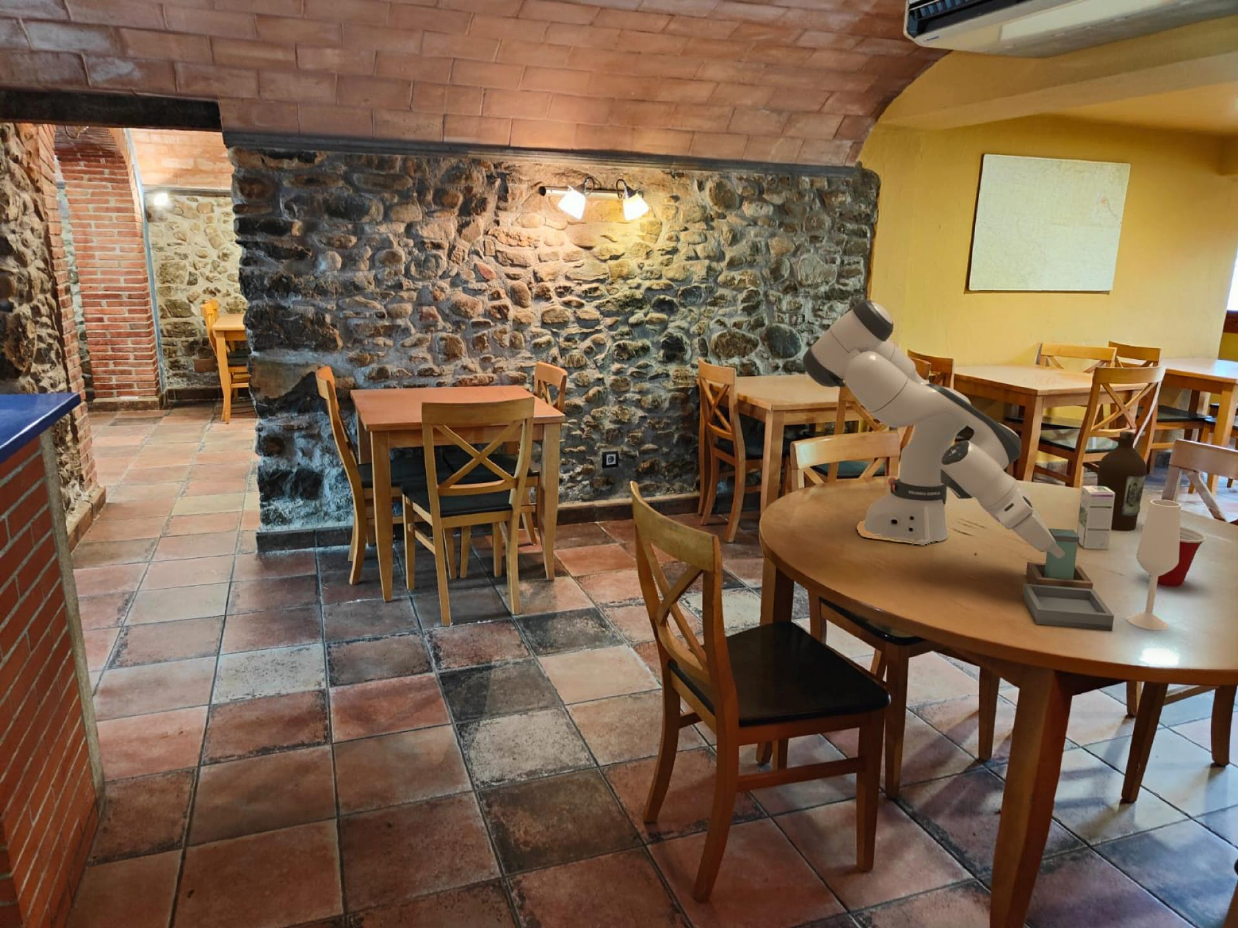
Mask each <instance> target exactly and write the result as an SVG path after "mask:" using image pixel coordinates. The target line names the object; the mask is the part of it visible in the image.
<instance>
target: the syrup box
mask: <svg viewBox="0 0 1238 928" xmlns="http://www.w3.org/2000/svg"><path fill="white" fill-rule="evenodd" d="M1114 498H1115V493H1114V492H1113V491H1112V490H1110V489H1109V488H1107V487H1105V486H1097V485H1082V486H1081V494H1080V501H1079V502H1080V503H1079V510H1078V511H1079V512H1078V520H1077V527H1076V528H1077V529H1076V534H1077V535H1078V536H1079V543H1078V544H1079V546H1081V547H1082V548H1083V549H1086V550H1106V551H1107V550H1109V547H1110V540H1111V533H1112V530H1111V524H1112V515H1113V506H1114Z"/></svg>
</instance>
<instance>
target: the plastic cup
mask: <svg viewBox="0 0 1238 928" xmlns="http://www.w3.org/2000/svg"><path fill="white" fill-rule="evenodd" d="M1206 539H1207V536H1206V535H1205V534H1204V533H1202V532H1200V531H1198V530H1195V529H1192V528H1191V527H1190V528H1189V527H1188V526H1187V527H1186V526H1182V525H1180V542H1179V563H1178V565H1177V566H1176V567H1175V568H1174V569H1172V570H1171V571H1169V572H1167V573H1165V574H1163V575H1161V576H1158V581H1157V585H1159V586H1163V587H1167V588H1168V587H1169V588H1170V587H1171V588H1179V587H1182V586H1183V584H1184V582H1185V579H1186V578H1187V574H1188V572H1189V571H1190V569H1191V565H1192V563H1193V561H1194V559H1195V556H1196V553H1197V551H1198V549H1199V548H1200V546H1201V544H1202V543H1203V542H1205V540H1206ZM1149 577H1151V575H1150V574H1149Z"/></svg>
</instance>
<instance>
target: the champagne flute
mask: <svg viewBox="0 0 1238 928" xmlns="http://www.w3.org/2000/svg"><path fill="white" fill-rule="evenodd" d="M1146 512H1147V513H1146V517H1145V520H1144V525H1143V528H1142V532H1141V534H1140V535H1141V536H1140V540H1139V543H1138V546H1137V550H1136V554H1135V557H1136V560H1137V562H1138V564H1139V566H1141V568H1142V569H1143V570H1144V571H1145V572H1146V573H1147V574H1148V575H1149V577H1150V575H1151V577H1150V578H1149V585H1148V591H1147V597H1146V598H1147V599H1146V603H1145V604H1146V605H1145V611H1144V612H1141V613H1137V614H1132V615H1128V616H1127V617H1126V620H1127V621H1128V622H1129V624H1132V625H1133V626H1135V627H1136V626H1137V627H1139V628H1143V629H1147V630H1152V631H1161V630H1167V629H1168V627H1169V624H1168V623H1167V622H1165V621H1164V620H1162V619H1161V618H1159V617H1158V616H1156V615H1155V614H1154V613H1153V612H1154V607H1155V606H1154V605H1155V598H1156V593H1157V586H1158V584H1157V581H1158V576H1161V575H1163V574H1165V573H1167V572H1169V571H1171V570H1172V569H1174V568H1175V567H1176V566H1177V565H1178V563H1179V542H1180V526H1181V518H1182V517H1181V516H1182V515H1181V513H1182V504H1181V503H1179V502H1178V501H1174V500H1169V499H1151V500H1150V501H1149V505H1148V509H1147V511H1146Z"/></svg>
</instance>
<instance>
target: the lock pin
mask: <svg viewBox="0 0 1238 928" xmlns="http://www.w3.org/2000/svg"><path fill="white" fill-rule="evenodd" d="M1048 530H1049V531H1050V533H1051V535H1052V536H1053V538H1054V539H1055V541H1056V544H1057V545H1058V546H1059V547H1060V548H1061V549H1062V550H1063V551H1064V552H1065V555H1064V556H1063V557H1061V558H1059V559H1058V558H1057V557H1056V556H1054V555H1053V554H1052V553H1051V552H1049V551H1047V550H1046V554H1045V555H1046V557H1045V562H1044V563H1045V572H1044V578H1054V579H1067V580H1073V577H1074V569H1075V565H1076V562H1077V561H1076V558H1077V553H1078V544H1079V536H1078V535H1077V531H1075V530H1074V529H1065V528H1064V529H1063V528H1048Z"/></svg>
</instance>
